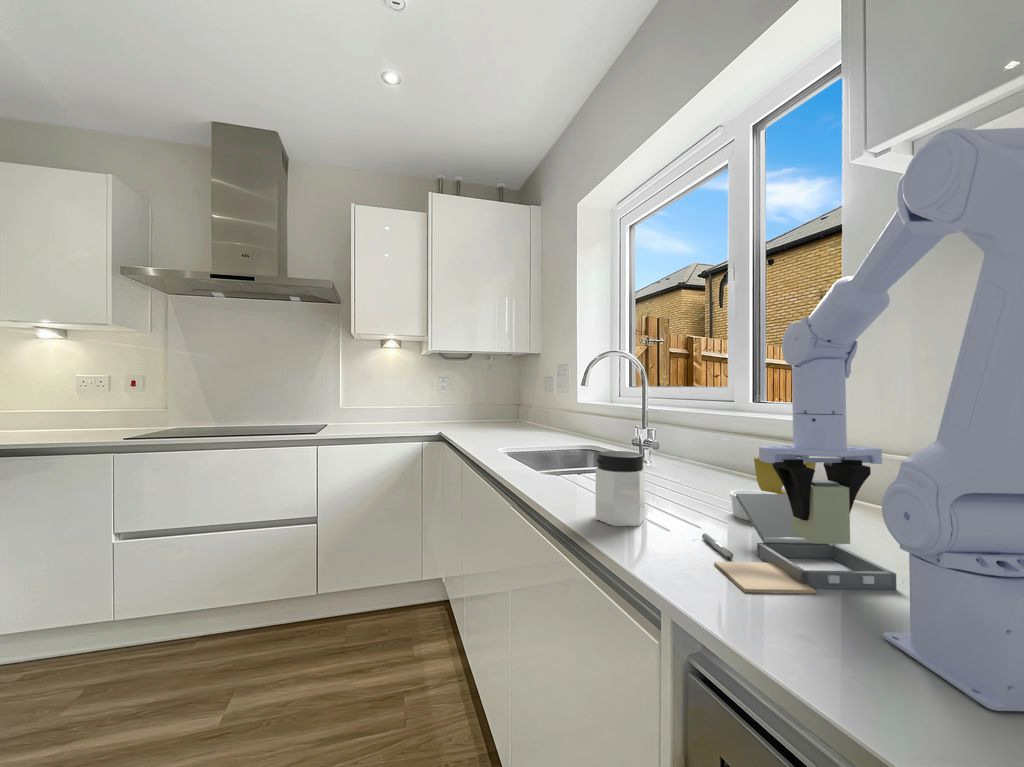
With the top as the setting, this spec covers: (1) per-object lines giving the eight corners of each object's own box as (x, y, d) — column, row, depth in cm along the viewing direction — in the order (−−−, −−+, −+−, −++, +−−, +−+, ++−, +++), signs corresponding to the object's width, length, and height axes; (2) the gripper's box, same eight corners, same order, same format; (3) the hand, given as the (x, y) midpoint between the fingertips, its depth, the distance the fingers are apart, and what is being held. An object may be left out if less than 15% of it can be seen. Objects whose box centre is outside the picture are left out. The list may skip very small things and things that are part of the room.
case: (898, 590, 50) (898, 574, 50) (805, 588, 50) (804, 573, 51) (834, 556, 61) (834, 543, 61) (757, 555, 61) (757, 542, 61)
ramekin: (726, 519, 79) (726, 495, 79) (734, 508, 86) (733, 487, 86) (783, 528, 74) (782, 502, 74) (786, 516, 81) (785, 493, 81)
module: (850, 543, 53) (849, 484, 54) (814, 543, 54) (813, 484, 54) (825, 532, 58) (824, 477, 58) (792, 532, 58) (791, 477, 58)
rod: (733, 559, 59) (733, 552, 59) (726, 559, 59) (726, 552, 59) (708, 539, 67) (708, 533, 67) (702, 539, 67) (701, 533, 67)
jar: (604, 511, 84) (604, 449, 84) (647, 516, 80) (647, 452, 80) (590, 523, 76) (590, 455, 76) (637, 530, 72) (637, 458, 72)
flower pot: (817, 502, 91) (817, 460, 91) (795, 507, 87) (795, 463, 87) (775, 493, 99) (774, 454, 99) (752, 498, 94) (752, 457, 94)
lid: (830, 557, 60) (829, 507, 60) (765, 556, 60) (764, 506, 61) (792, 537, 69) (792, 493, 69) (735, 536, 69) (735, 493, 69)
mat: (815, 593, 49) (815, 590, 49) (745, 592, 50) (745, 589, 50) (774, 565, 57) (774, 562, 57) (714, 564, 57) (714, 561, 57)
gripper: (851, 413, 60) (853, 510, 60) (746, 412, 60) (747, 509, 60) (895, 415, 53) (897, 526, 52) (776, 414, 53) (777, 524, 53)
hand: (820, 518), depth 56 cm, fingers closed on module, 4 cm apart
